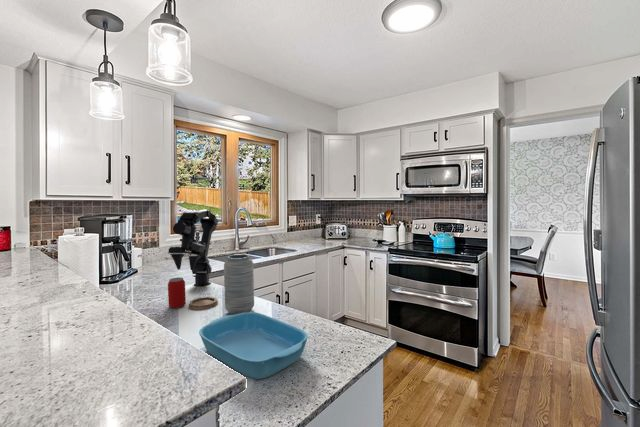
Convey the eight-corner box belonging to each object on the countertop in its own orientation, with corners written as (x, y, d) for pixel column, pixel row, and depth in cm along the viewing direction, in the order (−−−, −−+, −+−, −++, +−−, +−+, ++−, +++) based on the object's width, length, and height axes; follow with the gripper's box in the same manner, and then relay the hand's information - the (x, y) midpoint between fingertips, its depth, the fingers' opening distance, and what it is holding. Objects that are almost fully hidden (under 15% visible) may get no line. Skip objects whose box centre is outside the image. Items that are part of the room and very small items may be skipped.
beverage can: (188, 303, 137) (187, 277, 136) (180, 309, 130) (179, 281, 129) (174, 303, 137) (173, 276, 137) (165, 309, 131) (164, 281, 130)
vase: (219, 313, 125) (217, 257, 123) (239, 304, 135) (237, 252, 134) (241, 319, 119) (239, 260, 118) (260, 309, 129) (259, 254, 128)
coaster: (203, 298, 143) (203, 295, 143) (223, 302, 138) (223, 298, 138) (182, 307, 132) (182, 303, 132) (203, 311, 127) (203, 307, 127)
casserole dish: (188, 348, 97) (187, 326, 97) (247, 325, 114) (247, 306, 113) (260, 398, 73) (259, 369, 72) (322, 360, 89) (322, 336, 89)
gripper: (189, 233, 139) (186, 269, 136) (214, 239, 157) (212, 270, 153) (169, 234, 142) (165, 269, 139) (195, 239, 160) (192, 270, 156)
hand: (185, 269), depth 147 cm, fingers open, 9 cm apart
